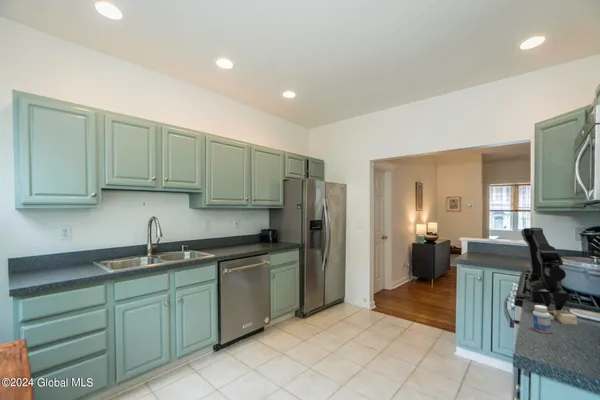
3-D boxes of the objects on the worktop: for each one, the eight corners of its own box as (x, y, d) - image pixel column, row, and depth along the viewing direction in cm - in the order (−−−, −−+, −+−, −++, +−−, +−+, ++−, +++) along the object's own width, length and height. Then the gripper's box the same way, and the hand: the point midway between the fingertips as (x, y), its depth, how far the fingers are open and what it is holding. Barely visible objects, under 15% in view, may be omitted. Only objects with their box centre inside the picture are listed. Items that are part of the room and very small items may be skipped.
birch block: (553, 317, 127) (553, 310, 127) (567, 318, 126) (566, 310, 126) (562, 323, 120) (562, 315, 121) (577, 324, 119) (576, 316, 119)
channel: (537, 310, 136) (537, 307, 136) (560, 312, 134) (559, 308, 134) (551, 319, 125) (550, 316, 125) (576, 321, 122) (575, 317, 122)
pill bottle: (534, 327, 117) (532, 303, 118) (551, 330, 114) (549, 305, 115) (534, 331, 113) (532, 307, 114) (552, 334, 110) (549, 309, 110)
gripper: (520, 271, 144) (523, 302, 143) (539, 279, 126) (542, 314, 125) (547, 272, 141) (549, 303, 139) (569, 280, 123) (573, 316, 122)
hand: (552, 309), depth 132 cm, fingers open, 9 cm apart
